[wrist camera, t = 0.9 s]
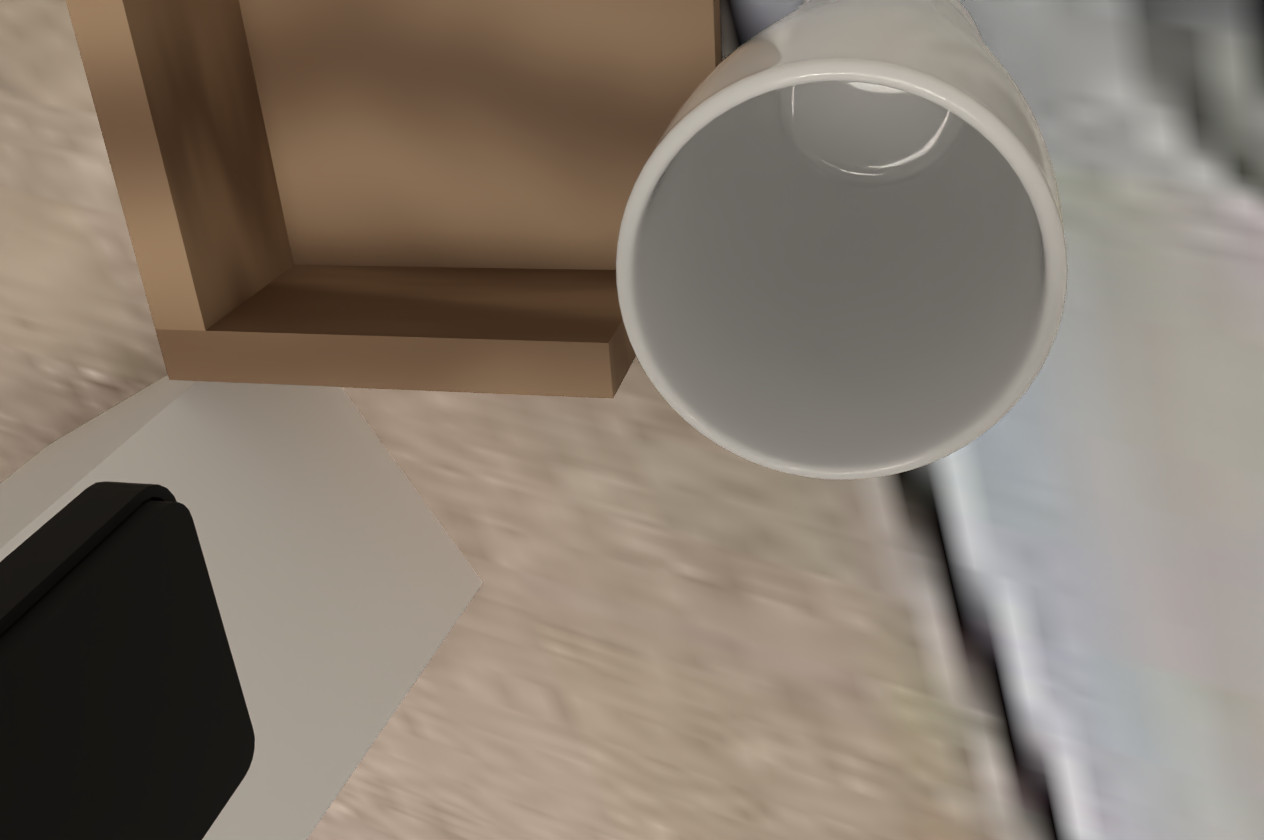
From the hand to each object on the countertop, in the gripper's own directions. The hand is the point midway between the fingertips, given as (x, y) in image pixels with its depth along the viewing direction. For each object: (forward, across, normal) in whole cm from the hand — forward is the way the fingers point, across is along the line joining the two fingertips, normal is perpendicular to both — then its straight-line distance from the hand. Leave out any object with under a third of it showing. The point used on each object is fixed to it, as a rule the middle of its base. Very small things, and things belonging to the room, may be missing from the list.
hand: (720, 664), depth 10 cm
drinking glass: (+24, 0, 0) cm, 24 cm away
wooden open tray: (+24, +12, 0) cm, 27 cm away
